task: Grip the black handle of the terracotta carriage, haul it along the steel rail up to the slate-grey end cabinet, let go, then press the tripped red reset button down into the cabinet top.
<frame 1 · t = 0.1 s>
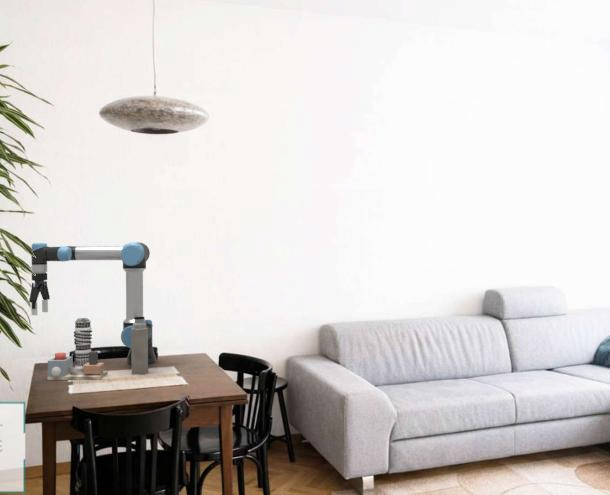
hand: (39, 313, 337), 28 cm above the table, fingers open, 13 cm apart
carriage: (93, 362, 314), point 7 cm above the table, slide at 0.0 cm
thermos bottle: (139, 373, 323), on the table
reset button: (60, 356, 314), point 10 cm above the table, slide at 0.0 cm
end cabinet: (60, 377, 314), resting on rail base
rail base: (78, 377, 314), on the table
decorative candle: (83, 366, 341), on the table
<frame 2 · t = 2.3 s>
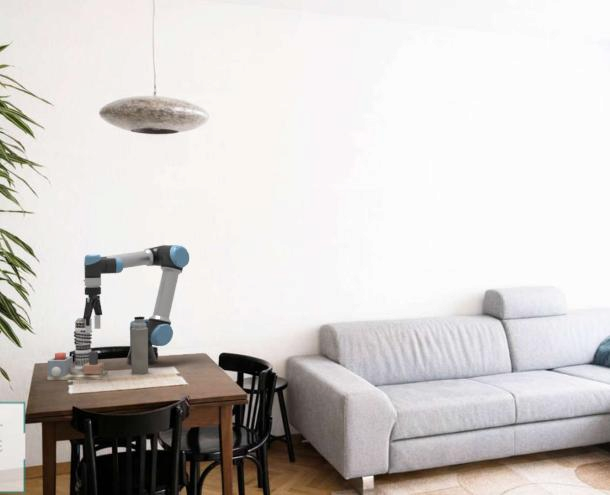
hand: (93, 330, 314), 23 cm above the table, fingers open, 13 cm apart
nothing on the table moved.
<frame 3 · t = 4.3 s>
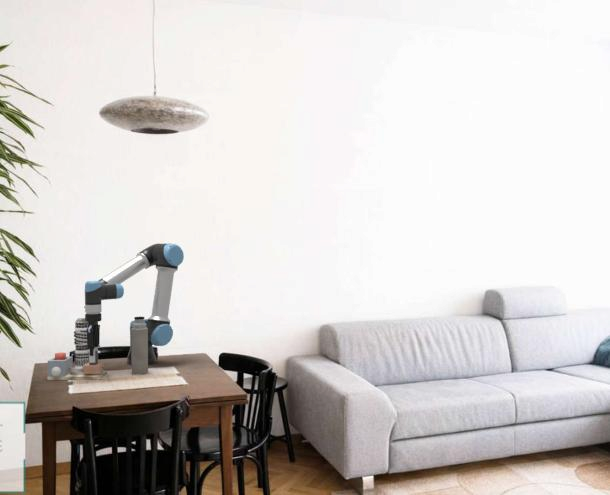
hand: (93, 361, 314), 8 cm above the table, fingers closed on carriage, 3 cm apart
carriage: (93, 362, 314), point 7 cm above the table, slide at 0.0 cm, touching gripper
everything else where it was.
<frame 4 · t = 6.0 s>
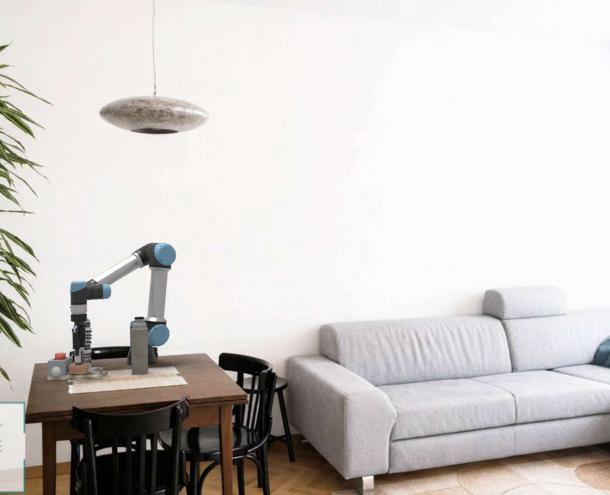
hand: (79, 361, 314), 8 cm above the table, fingers closed on carriage, 3 cm apart
carriage: (79, 362, 314), point 7 cm above the table, slide at 6.9 cm, touching gripper
everything else where it was.
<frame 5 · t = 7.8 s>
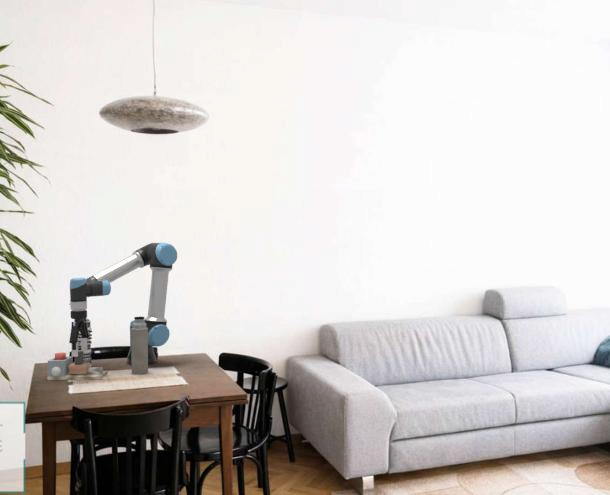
hand: (79, 353, 314), 11 cm above the table, fingers open, 13 cm apart
carriage: (79, 362, 314), point 7 cm above the table, slide at 7.0 cm
everything else where it was.
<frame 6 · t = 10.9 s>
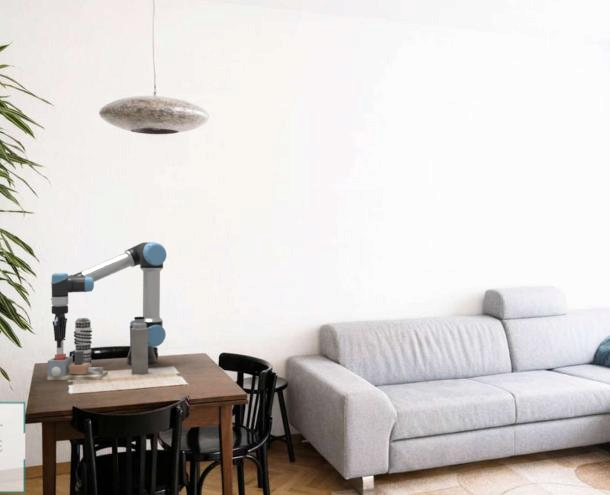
hand: (60, 354, 314), 11 cm above the table, fingers closed
reset button: (60, 357, 314), point 9 cm above the table, slide at 0.6 cm, touching gripper
everything else where it was.
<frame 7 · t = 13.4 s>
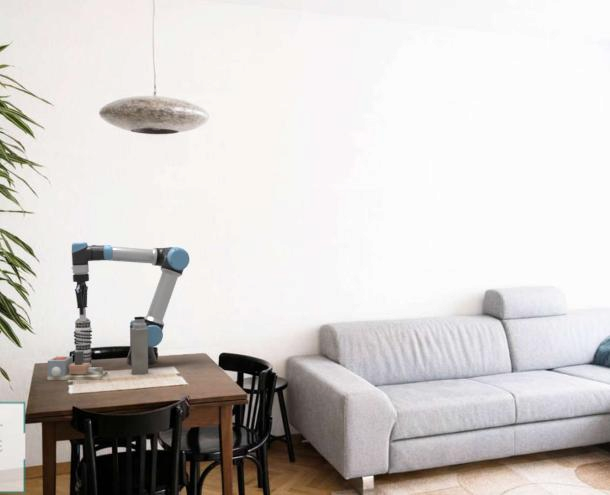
hand: (83, 320, 323), 26 cm above the table, fingers closed
reset button: (60, 361, 314), point 8 cm above the table, slide at 2.0 cm
everything else where it was.
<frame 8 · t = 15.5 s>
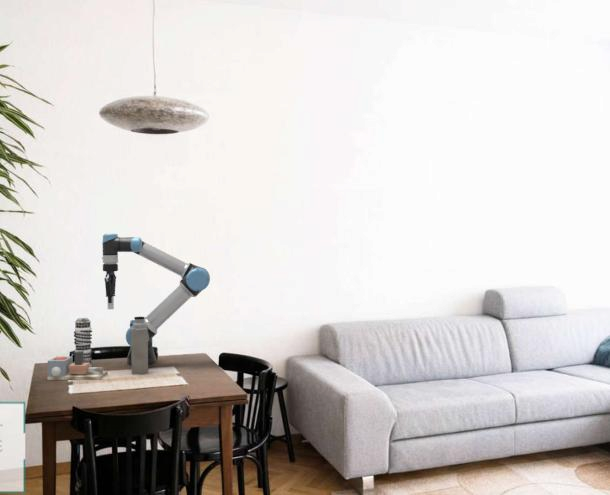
hand: (110, 309, 336), 30 cm above the table, fingers closed
nothing on the table moved.
at the end: carriage slide at 7.0 cm; reset button slide at 2.0 cm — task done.
